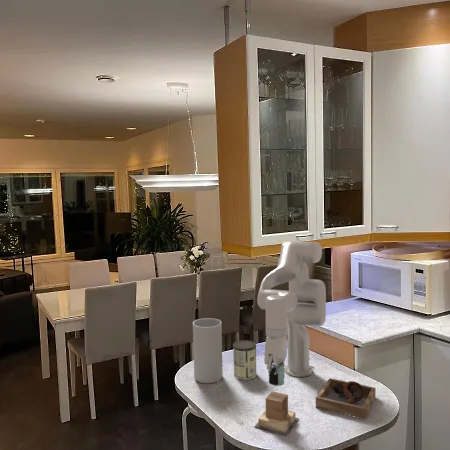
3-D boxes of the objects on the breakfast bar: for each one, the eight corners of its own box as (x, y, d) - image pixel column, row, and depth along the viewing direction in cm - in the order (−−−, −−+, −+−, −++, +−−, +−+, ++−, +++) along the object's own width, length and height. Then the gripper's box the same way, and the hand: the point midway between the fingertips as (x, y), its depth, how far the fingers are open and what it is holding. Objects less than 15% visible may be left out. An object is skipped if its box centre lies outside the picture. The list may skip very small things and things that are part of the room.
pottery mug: (360, 394, 179) (366, 382, 174) (359, 415, 172) (365, 403, 167) (330, 385, 181) (336, 372, 176) (328, 405, 174) (334, 392, 169)
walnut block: (272, 409, 162) (272, 391, 162) (288, 413, 159) (287, 394, 159) (265, 417, 157) (265, 398, 156) (281, 421, 154) (281, 402, 154)
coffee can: (238, 368, 205) (238, 338, 204) (259, 371, 201) (259, 341, 199) (229, 377, 196) (229, 346, 194) (251, 381, 191) (251, 350, 190)
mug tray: (329, 387, 185) (329, 378, 184) (375, 397, 176) (375, 387, 175) (315, 407, 169) (315, 397, 168) (365, 419, 160) (365, 409, 159)
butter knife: (236, 424, 158) (244, 422, 159) (210, 392, 183) (216, 390, 184) (236, 426, 158) (244, 424, 159) (210, 393, 183) (216, 392, 184)
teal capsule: (274, 378, 160) (273, 362, 160) (286, 381, 157) (286, 365, 157) (267, 383, 156) (266, 367, 156) (279, 387, 153) (279, 370, 153)
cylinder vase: (201, 369, 204) (200, 316, 201) (226, 373, 199) (225, 319, 197) (189, 381, 193) (187, 325, 190) (215, 386, 188) (214, 328, 185)
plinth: (268, 411, 167) (268, 403, 166) (298, 419, 161) (298, 411, 160) (254, 427, 156) (254, 419, 156) (286, 436, 150) (286, 428, 150)
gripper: (276, 322, 164) (276, 369, 166) (256, 336, 149) (256, 388, 151) (295, 325, 160) (295, 373, 162) (277, 340, 146) (277, 393, 148)
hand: (276, 380), depth 157 cm, fingers closed on teal capsule, 5 cm apart
